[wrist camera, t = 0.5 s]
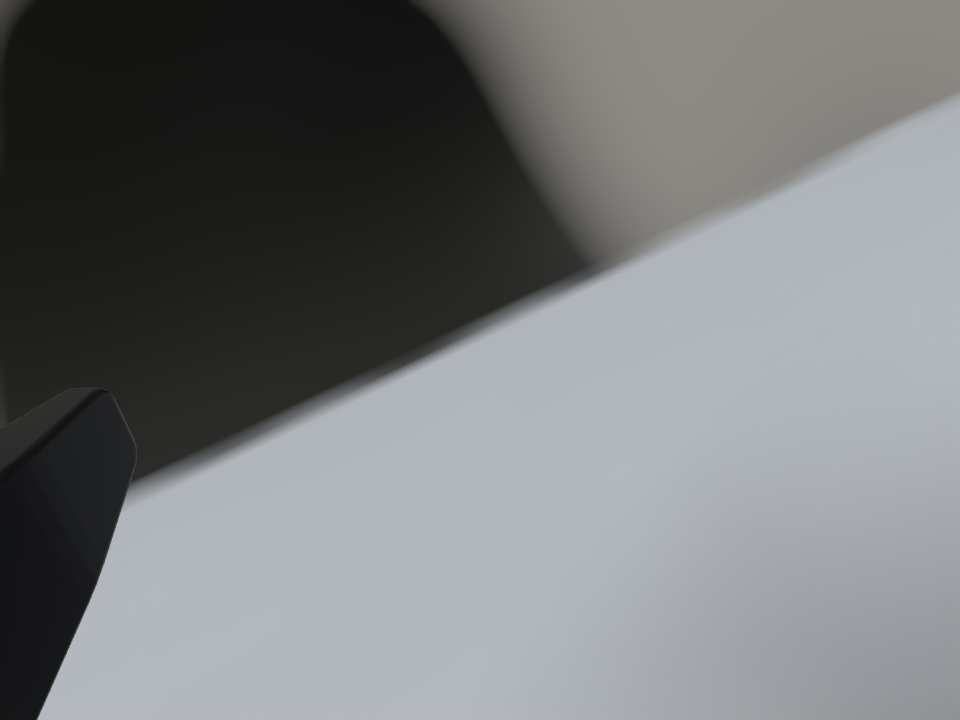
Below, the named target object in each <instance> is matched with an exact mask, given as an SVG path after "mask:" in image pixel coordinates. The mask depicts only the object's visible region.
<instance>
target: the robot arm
mask: <svg viewBox="0 0 960 720" xmlns="http://www.w3.org/2000/svg"><path fill="white" fill-rule="evenodd" d="M136 459H137V449H136V444H135V441H134V439H133V436H132V435H131V432H130V430H129V428H128V426H127V424H126V422H125V420H124V417H123V416H122V413H121V411H120V409H119V407H118V405H117V403H116V401H115V399H114V397H113V396H112V394H110V393H109V392H108V391H107V390H105V389H102V388H73V389H69V390H66V391H64V392H62V393H61V394H59V395H57V396H55V397H54V398H52V399H50V400H49V401H47V402H45V403H44V404H42V405H40V406H39V407H37V408H35V409H33V410H32V411H30V412H28V413H27V414H25V415H23V416H22V417H20V418H18V419H17V420H15V421H13V422H12V423H10V424H8V425H6V426H5V427H3V428H1V429H0V720H37V719H38V717H39V715H40V712H41V710H42V708H43V706H44V703H45V701H46V699H47V697H48V694H49V692H50V690H51V687H52V685H53V683H54V681H55V678H56V676H57V674H58V672H59V669H60V667H61V665H62V663H63V660H64V658H65V656H66V654H67V651H68V649H69V647H70V645H71V642H72V640H73V638H74V636H75V633H76V631H77V629H78V627H79V624H80V622H81V620H82V617H83V615H84V613H85V611H86V608H87V606H88V604H89V602H90V599H91V597H92V594H93V592H94V589H95V587H96V585H97V582H98V579H99V576H100V573H101V571H102V568H103V565H104V562H105V559H106V556H107V553H108V550H109V547H110V543H111V540H112V537H113V534H114V531H115V528H116V525H117V522H118V519H119V515H120V512H121V509H122V506H123V503H124V500H125V497H126V494H127V491H128V488H129V484H130V481H131V478H132V475H133V471H134V469H135V465H136Z"/></svg>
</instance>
